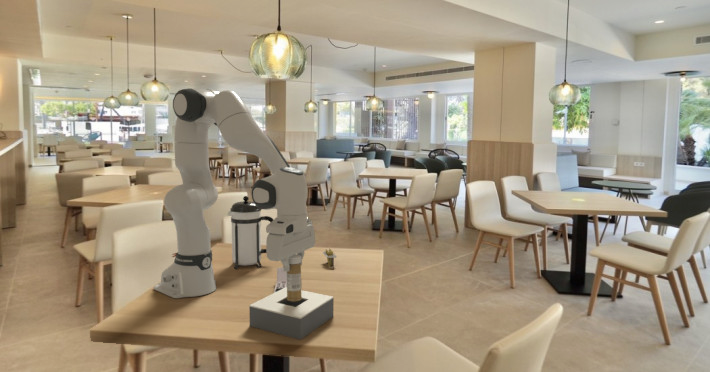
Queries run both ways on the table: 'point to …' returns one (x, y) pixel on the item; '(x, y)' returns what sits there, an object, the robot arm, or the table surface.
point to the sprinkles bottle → (294, 279)
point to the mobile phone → (281, 279)
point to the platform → (330, 256)
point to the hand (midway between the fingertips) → (292, 268)
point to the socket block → (291, 313)
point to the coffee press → (246, 233)
